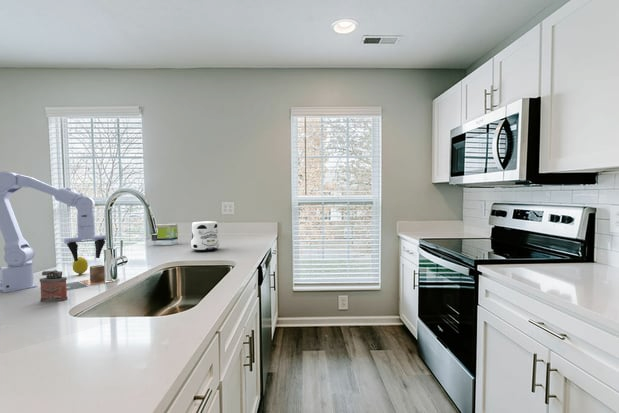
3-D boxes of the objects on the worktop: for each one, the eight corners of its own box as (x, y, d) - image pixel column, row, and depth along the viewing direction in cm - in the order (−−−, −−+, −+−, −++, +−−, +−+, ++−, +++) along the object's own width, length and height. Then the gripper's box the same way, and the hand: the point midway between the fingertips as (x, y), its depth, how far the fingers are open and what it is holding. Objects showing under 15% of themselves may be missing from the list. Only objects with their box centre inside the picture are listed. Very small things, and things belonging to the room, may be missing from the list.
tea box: (178, 243, 240) (177, 223, 239) (171, 245, 230) (170, 224, 229) (159, 243, 241) (158, 223, 241) (151, 245, 231) (150, 225, 231)
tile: (89, 286, 124) (89, 285, 124) (79, 281, 131) (79, 281, 131) (115, 281, 131) (115, 280, 131) (104, 277, 138) (104, 276, 138)
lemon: (85, 272, 147) (85, 255, 147) (89, 274, 144) (89, 256, 144) (71, 275, 143) (70, 257, 143) (75, 276, 140) (74, 258, 139)
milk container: (211, 253, 196) (210, 223, 195) (185, 252, 199) (184, 223, 199) (224, 248, 213) (223, 221, 212) (200, 248, 216) (199, 221, 216)
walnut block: (93, 282, 128) (93, 267, 128) (90, 281, 131) (89, 266, 131) (105, 280, 131) (104, 265, 131) (101, 279, 134) (100, 264, 134)
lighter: (70, 298, 109) (69, 269, 109) (62, 301, 106) (61, 271, 105) (45, 299, 109) (44, 269, 108) (37, 302, 105) (36, 272, 105)
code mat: (49, 294, 114) (49, 293, 114) (40, 288, 122) (40, 288, 122) (88, 286, 124) (88, 286, 124) (78, 281, 131) (78, 281, 131)
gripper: (67, 228, 123) (68, 263, 124) (109, 225, 135) (110, 257, 135) (62, 227, 128) (63, 261, 128) (103, 224, 139) (104, 255, 139)
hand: (87, 259), depth 132 cm, fingers open, 7 cm apart
